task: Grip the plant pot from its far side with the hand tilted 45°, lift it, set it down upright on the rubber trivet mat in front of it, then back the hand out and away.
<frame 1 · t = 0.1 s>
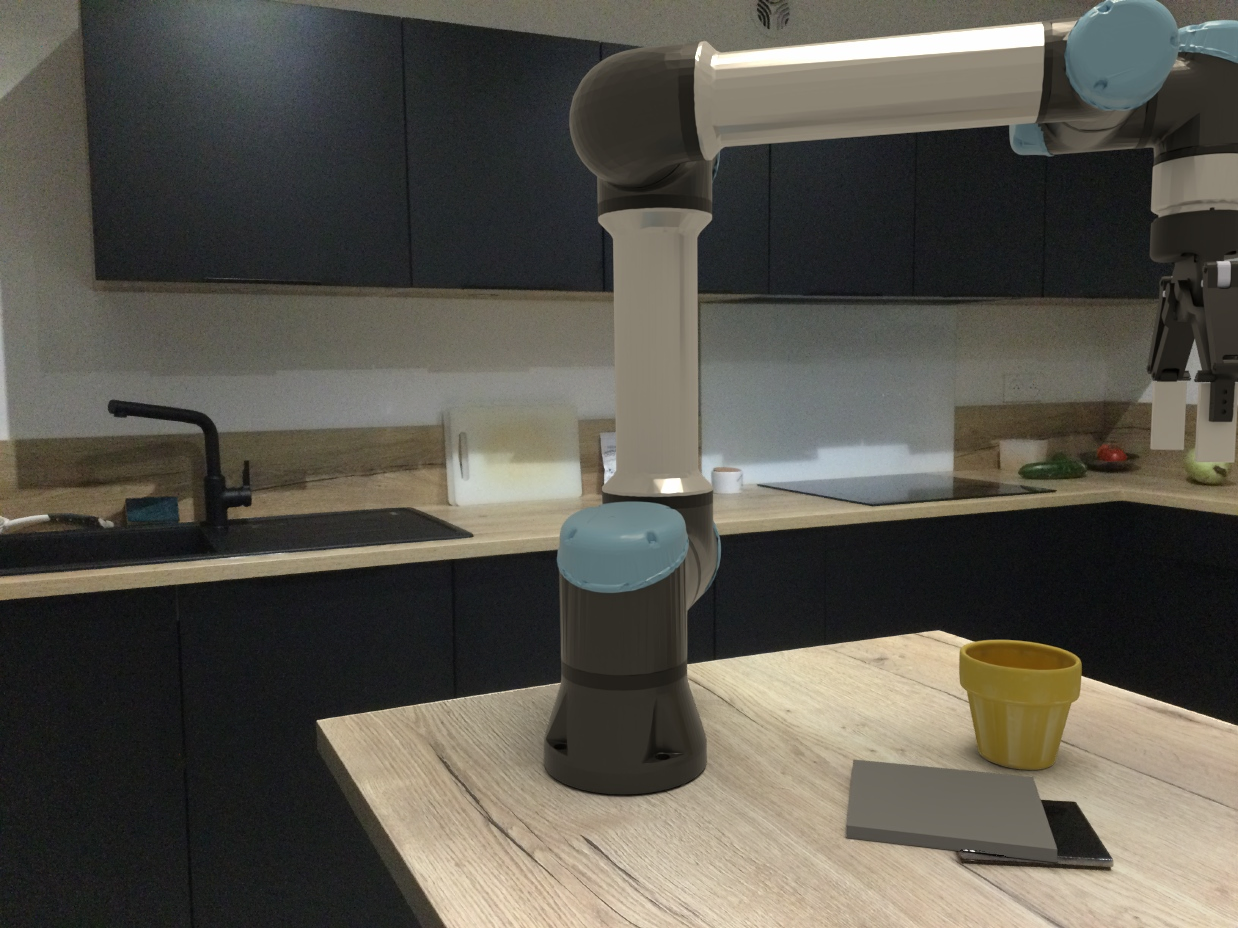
hand: (1188, 455, 86), 28 cm above the kitchen island, tool pointing down, fingers open, 13 cm apart
trivet mat: (944, 811, 79), on the kitchen island
plant pot: (1016, 757, 90), on the kitchen island
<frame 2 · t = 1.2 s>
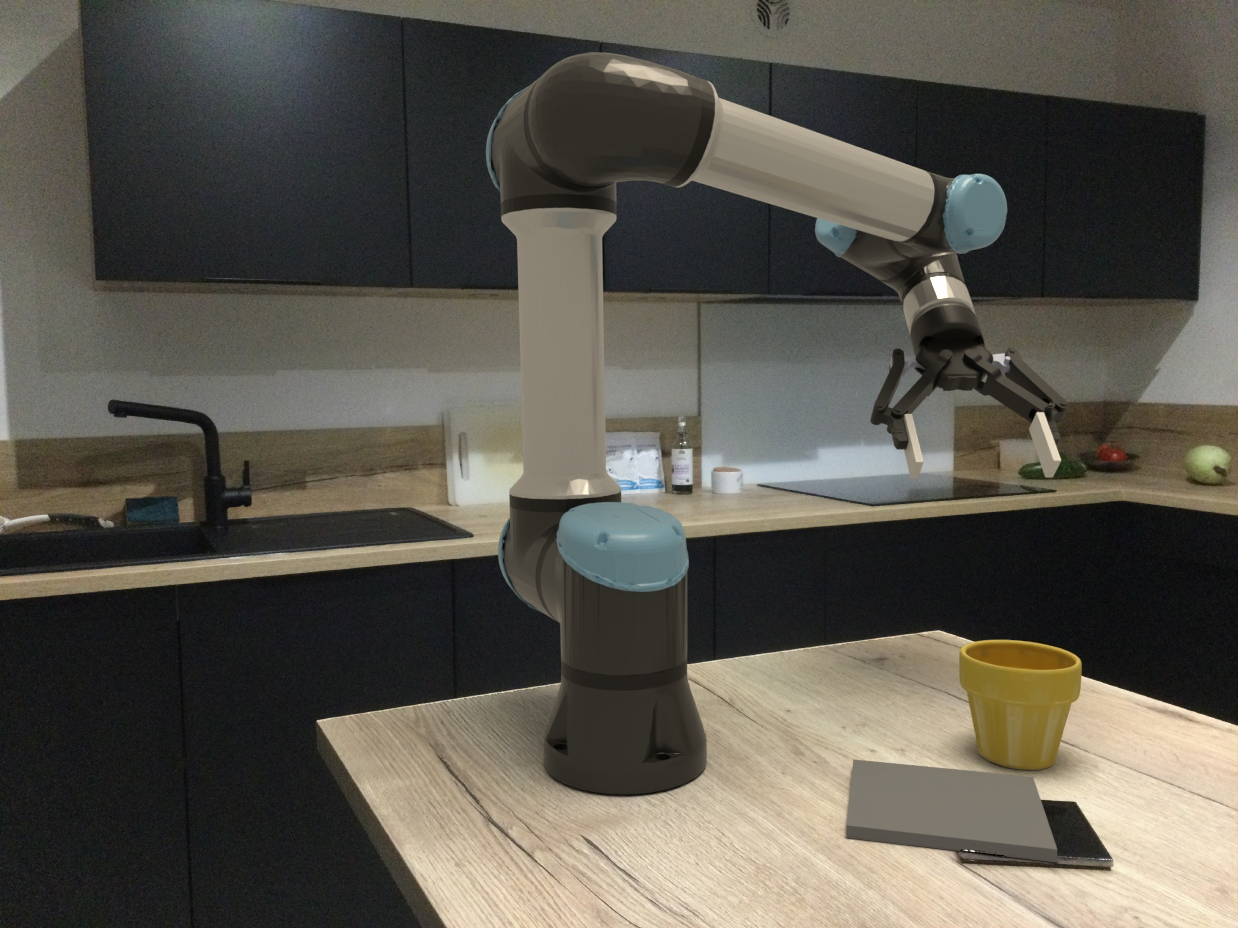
hand: (985, 470, 97), 26 cm above the kitchen island, tool tilted 45°, fingers open, 13 cm apart
nothing on the kitchen island moved.
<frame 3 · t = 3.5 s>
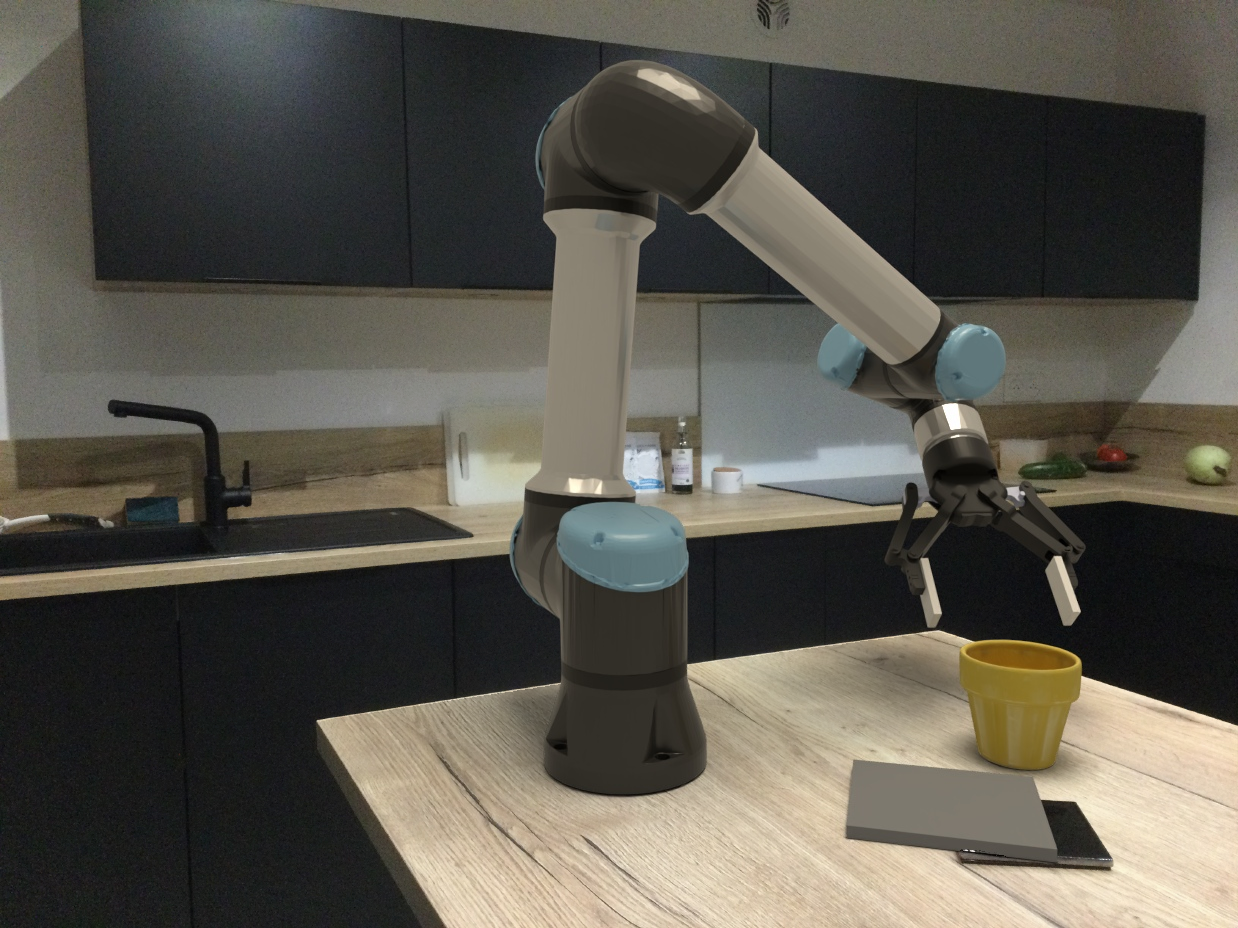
hand: (1003, 620, 95), 11 cm above the kitchen island, tool tilted 45°, fingers open, 13 cm apart
nothing on the kitchen island moved.
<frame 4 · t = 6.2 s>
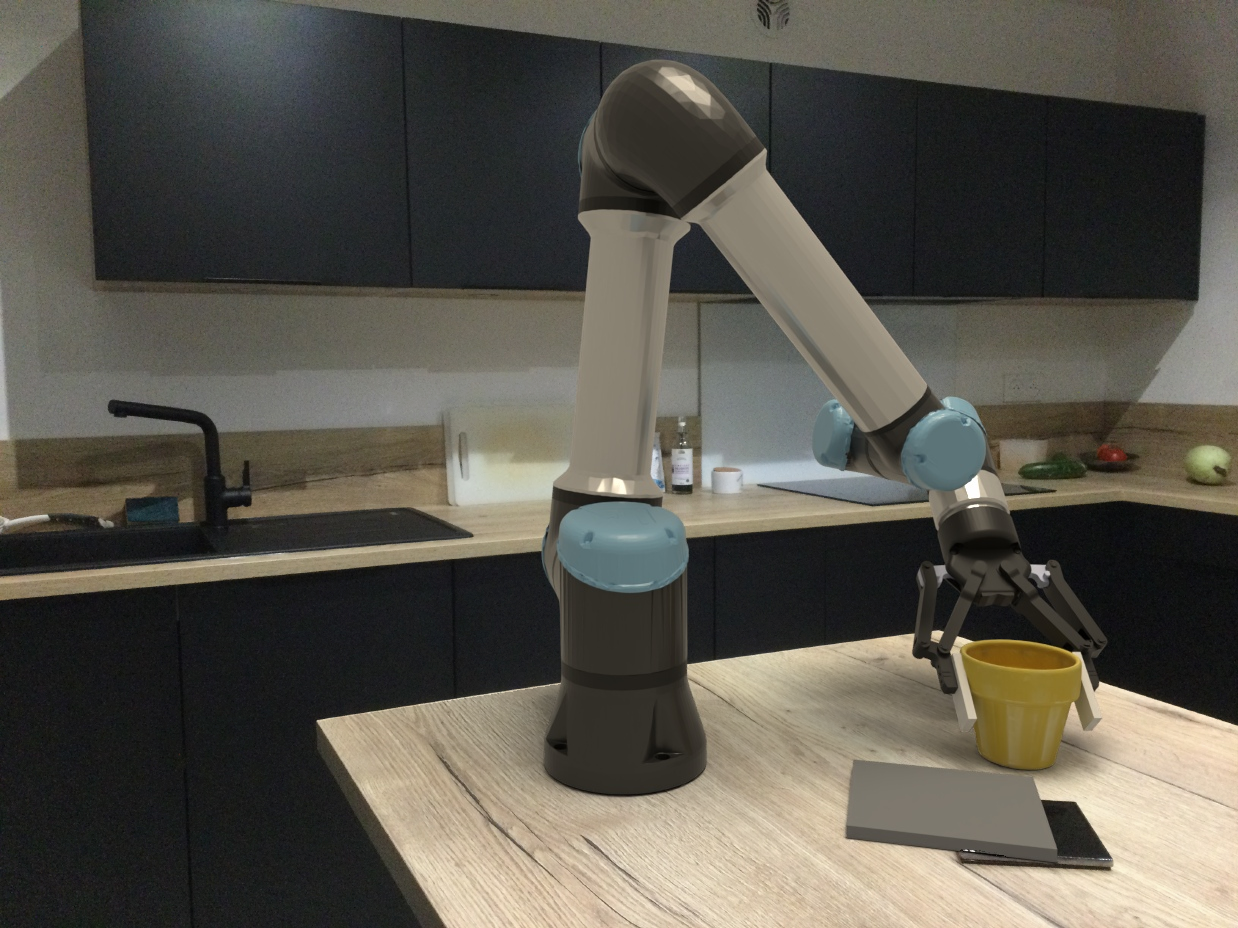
hand: (1030, 724, 86), 4 cm above the kitchen island, tool tilted 45°, fingers closed on plant pot, 10 cm apart
plant pot: (1016, 757, 90), on the kitchen island, touching gripper
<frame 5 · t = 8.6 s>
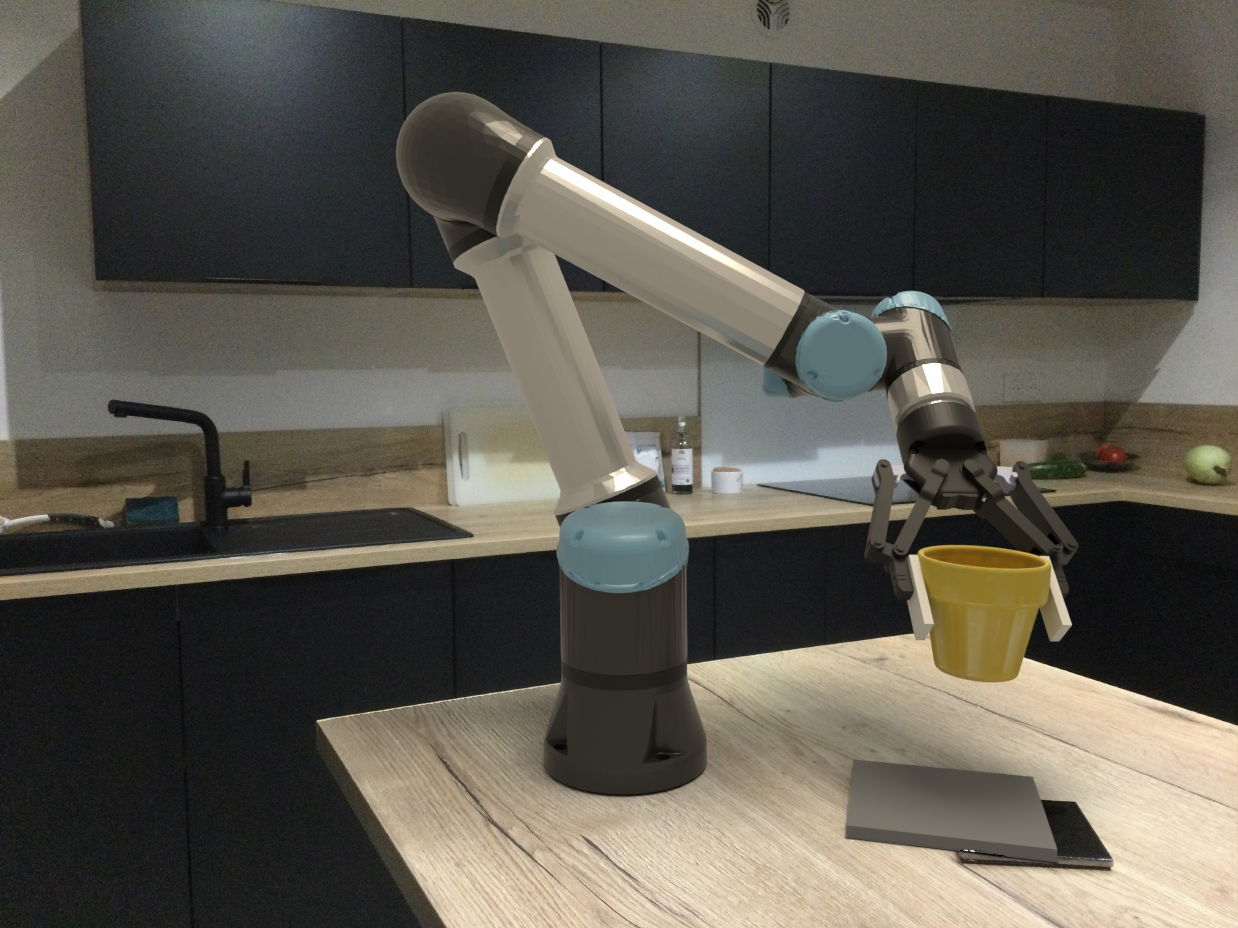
hand: (992, 632, 77), 15 cm above the kitchen island, tool tilted 45°, fingers closed on plant pot, 10 cm apart
plant pot: (975, 672, 81), point 11 cm above the kitchen island, touching gripper
when the fingers open (6 cm above the kitchen island, at t = 11.5 s): plant pot drops 1 cm, resting on trivet mat.
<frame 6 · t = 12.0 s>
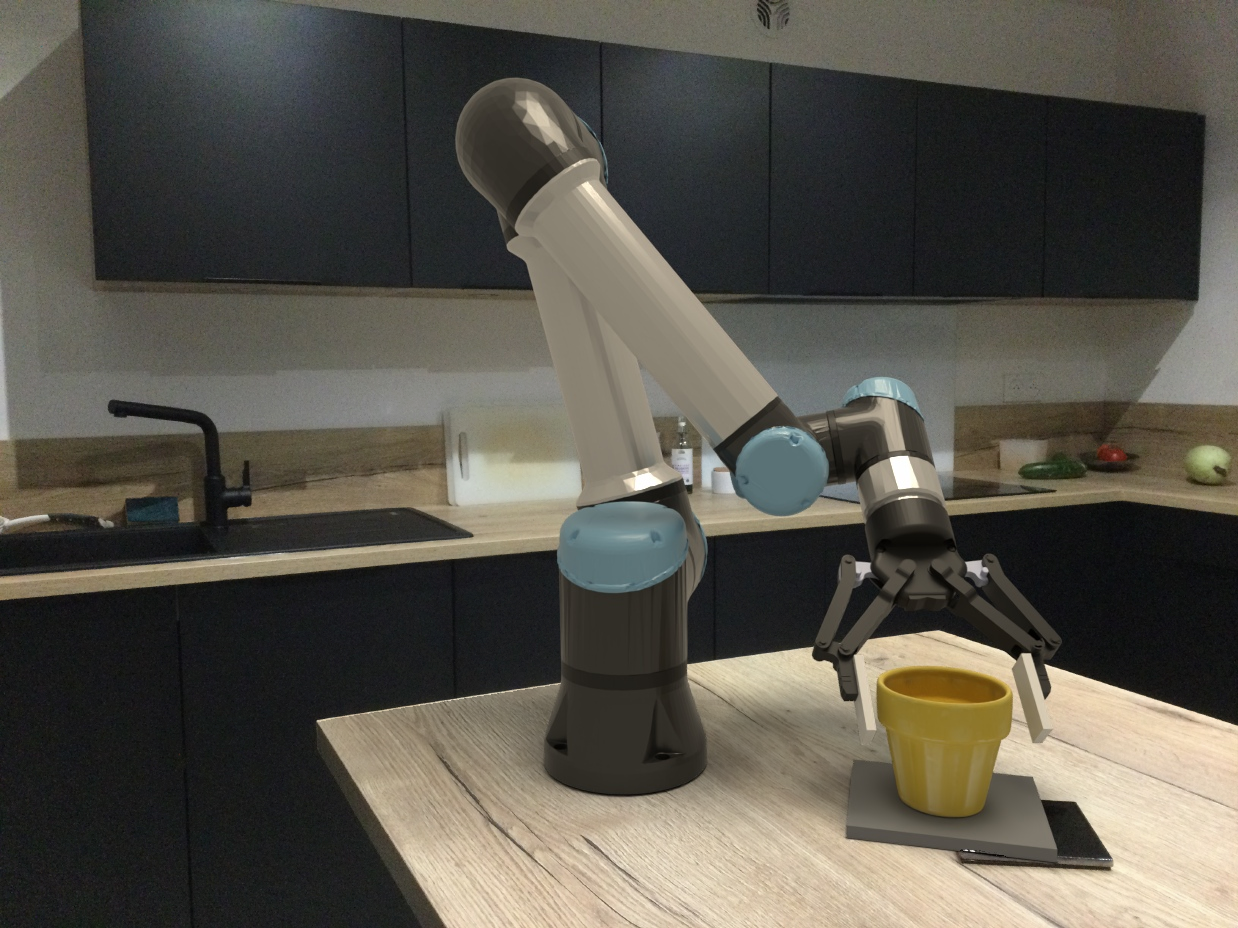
hand: (955, 737, 76), 7 cm above the kitchen island, tool tilted 45°, fingers open, 13 cm apart
plant pot: (941, 801, 78), point 1 cm above the kitchen island, touching trivet mat
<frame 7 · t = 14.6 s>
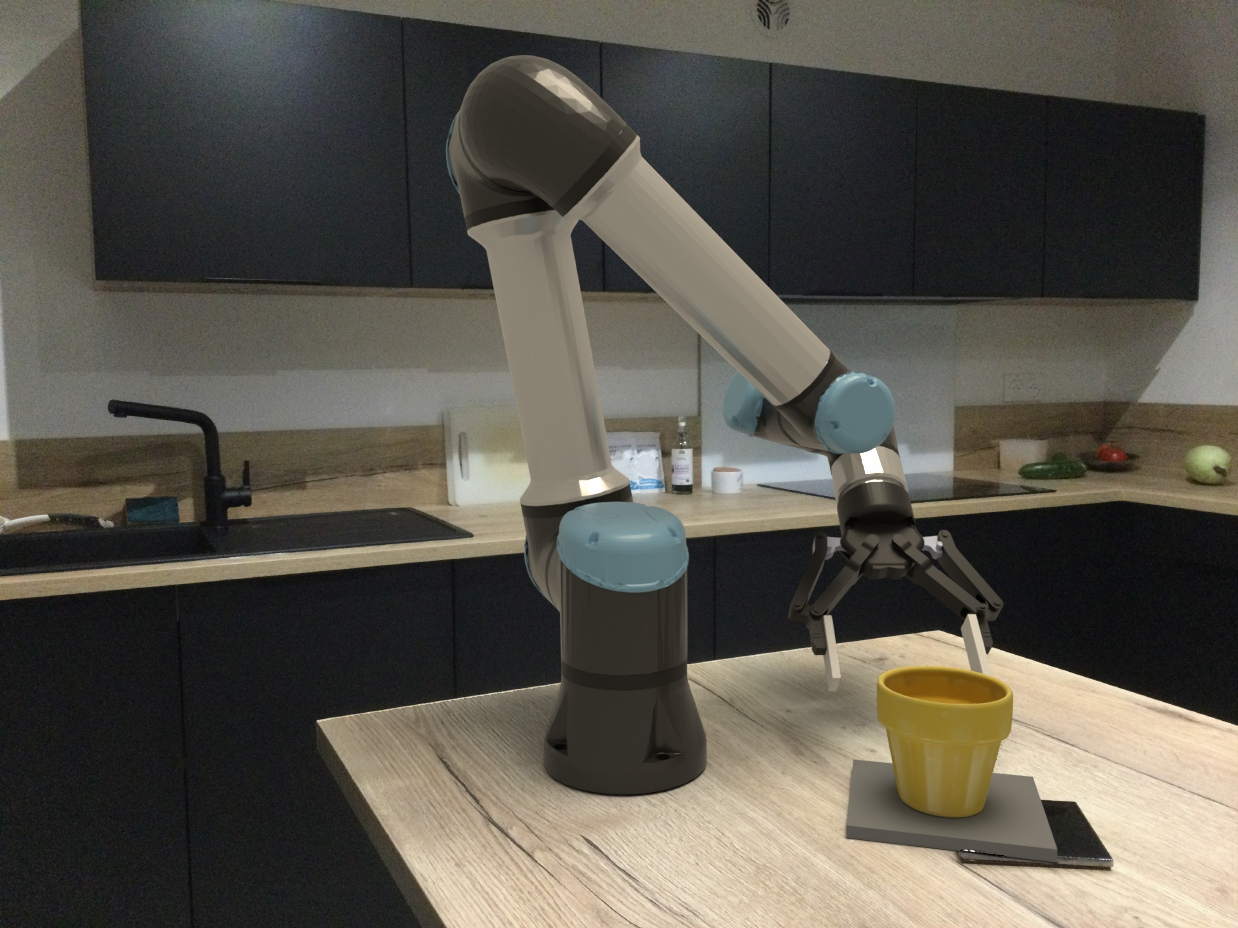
hand: (909, 684, 88), 7 cm above the kitchen island, tool tilted 45°, fingers open, 13 cm apart
nothing on the kitchen island moved.
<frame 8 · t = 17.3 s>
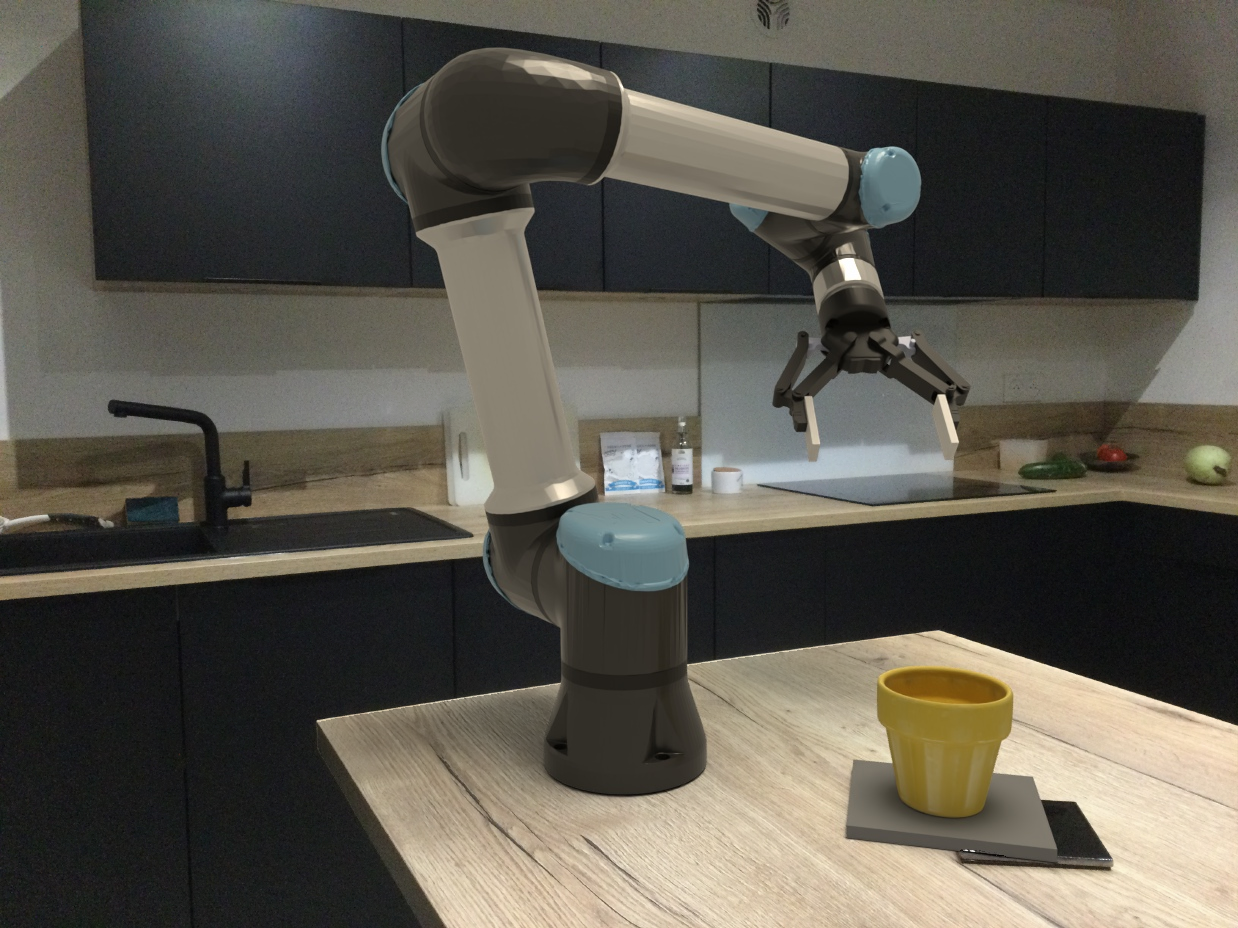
hand: (883, 452, 96), 28 cm above the kitchen island, tool tilted 45°, fingers open, 13 cm apart
nothing on the kitchen island moved.
at the end: plant pot 0.3 cm off-centre on the trivet mat, point 0.8 cm above the trivet mat's base; plant pot tilted 0°; the gripper is holding nothing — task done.
